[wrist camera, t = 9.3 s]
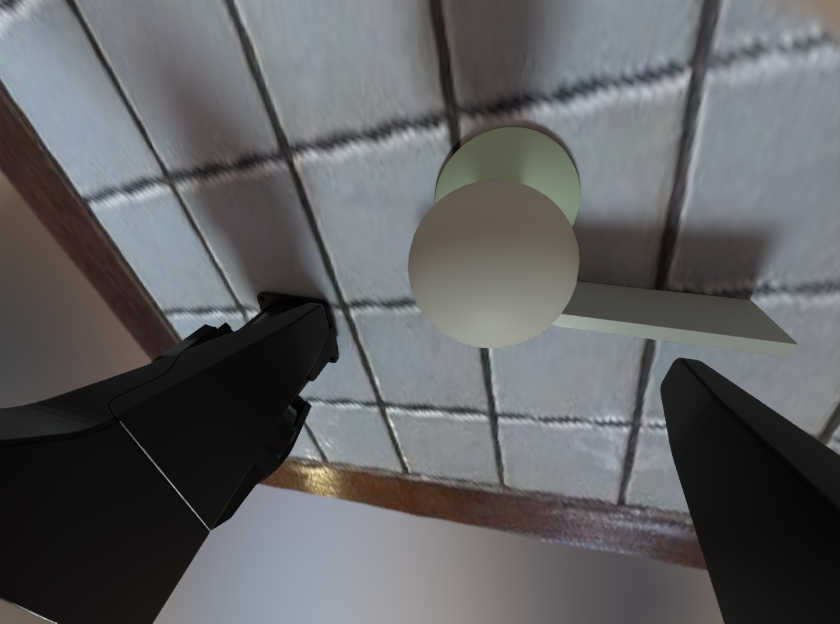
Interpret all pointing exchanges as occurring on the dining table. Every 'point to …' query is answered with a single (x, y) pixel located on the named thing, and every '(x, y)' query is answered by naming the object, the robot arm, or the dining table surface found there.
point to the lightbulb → (493, 263)
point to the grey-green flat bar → (675, 318)
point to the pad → (515, 166)
